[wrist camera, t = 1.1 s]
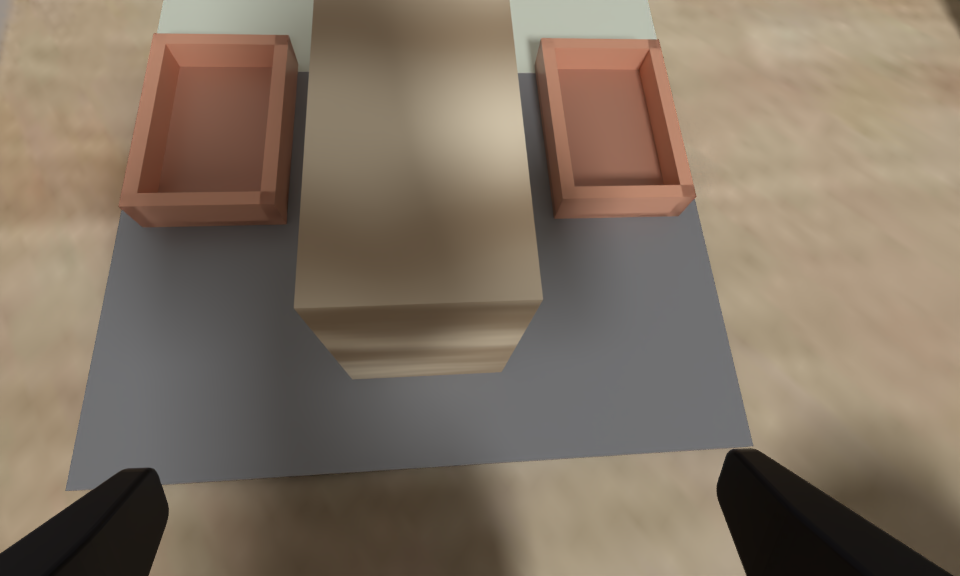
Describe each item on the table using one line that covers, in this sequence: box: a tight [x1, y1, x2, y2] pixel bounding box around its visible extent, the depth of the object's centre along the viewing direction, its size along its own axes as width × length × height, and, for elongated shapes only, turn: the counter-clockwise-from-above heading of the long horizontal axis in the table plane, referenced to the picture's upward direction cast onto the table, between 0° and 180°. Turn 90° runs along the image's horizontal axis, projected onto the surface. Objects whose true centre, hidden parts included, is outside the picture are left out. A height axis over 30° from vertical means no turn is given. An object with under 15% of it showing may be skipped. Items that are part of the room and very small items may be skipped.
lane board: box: [65, 0, 753, 491], centre depth 24 cm, size 30×26×3 cm
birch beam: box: [294, 0, 543, 379], centre depth 20 cm, size 16×6×9 cm, turn 4°
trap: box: [119, 33, 298, 227], centre depth 23 cm, size 9×6×2 cm, turn 4°
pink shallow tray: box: [535, 38, 696, 219], centre depth 25 cm, size 9×6×2 cm, turn 4°
